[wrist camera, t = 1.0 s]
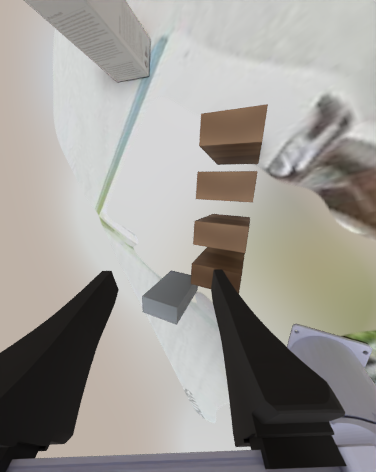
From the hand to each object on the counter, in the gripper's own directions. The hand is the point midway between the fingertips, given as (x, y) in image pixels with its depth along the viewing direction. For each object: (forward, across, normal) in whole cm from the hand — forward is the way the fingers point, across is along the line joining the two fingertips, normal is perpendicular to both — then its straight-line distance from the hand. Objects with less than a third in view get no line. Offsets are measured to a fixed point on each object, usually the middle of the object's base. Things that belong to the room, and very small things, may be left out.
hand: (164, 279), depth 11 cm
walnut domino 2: (+13, -8, -2) cm, 15 cm away
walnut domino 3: (+11, -8, +2) cm, 14 cm away
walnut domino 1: (+14, -8, -7) cm, 18 cm away
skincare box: (+25, +6, -17) cm, 31 cm away
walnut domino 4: (+10, -8, +6) cm, 14 cm away
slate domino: (+10, -1, +12) cm, 16 cm away
